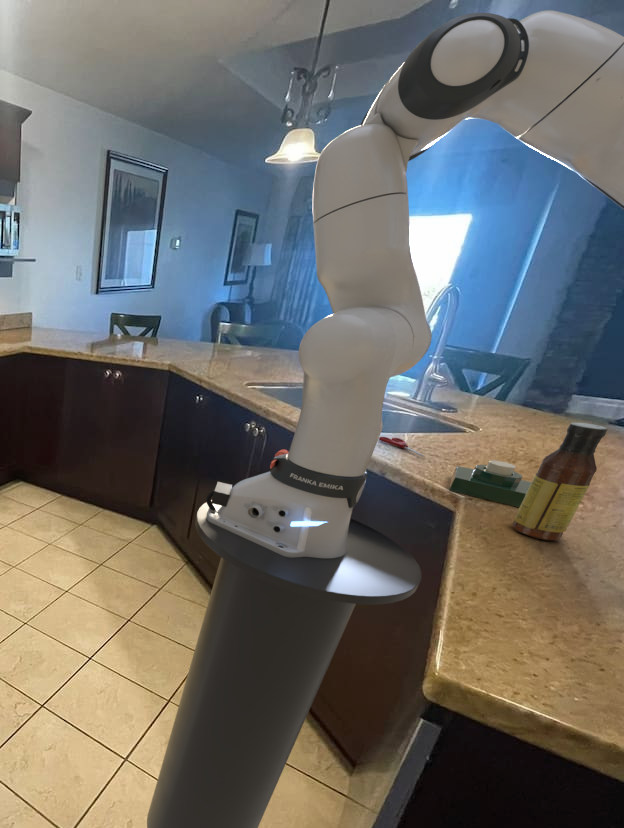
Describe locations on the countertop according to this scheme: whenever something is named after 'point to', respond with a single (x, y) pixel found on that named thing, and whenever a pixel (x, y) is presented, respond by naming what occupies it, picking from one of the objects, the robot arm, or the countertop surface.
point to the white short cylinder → (500, 467)
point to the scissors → (398, 443)
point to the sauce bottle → (560, 484)
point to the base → (490, 485)
